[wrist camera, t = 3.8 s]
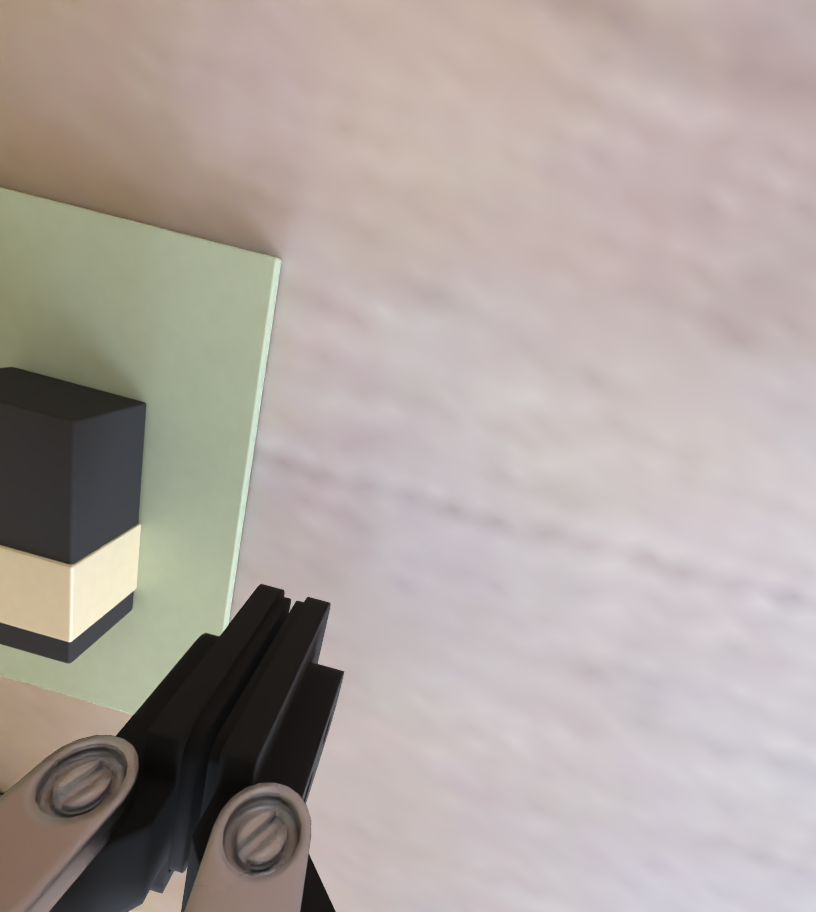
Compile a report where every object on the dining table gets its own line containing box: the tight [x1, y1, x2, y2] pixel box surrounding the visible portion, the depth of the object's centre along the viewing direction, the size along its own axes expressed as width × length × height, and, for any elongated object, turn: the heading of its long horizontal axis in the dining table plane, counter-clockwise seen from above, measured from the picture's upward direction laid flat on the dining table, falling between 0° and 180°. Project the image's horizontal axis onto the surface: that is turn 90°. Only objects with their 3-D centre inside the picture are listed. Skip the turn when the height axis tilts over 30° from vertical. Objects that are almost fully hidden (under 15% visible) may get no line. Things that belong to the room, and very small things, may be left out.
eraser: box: [0, 367, 146, 664], centre depth 12 cm, size 7×4×3 cm, turn 166°
